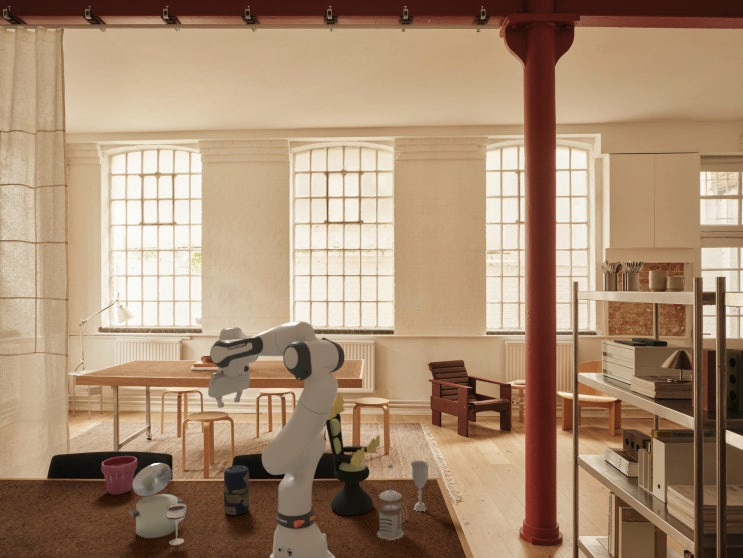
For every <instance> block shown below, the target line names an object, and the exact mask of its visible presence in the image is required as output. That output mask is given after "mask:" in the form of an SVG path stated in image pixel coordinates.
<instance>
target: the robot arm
mask: <svg viewBox="0 0 743 558" xmlns="http://www.w3.org/2000/svg"><path fill="white" fill-rule="evenodd" d="M314 329H315V328H313V326H312V325H311V324H310V323H308V322H306V321H300V320H299V321H289V322H286V323H282V324H279V325H276V326H274V327H272V328H269V329H267V330H265V331H261V332H260V333H257V334H255V335H252V336H250V337H249V336H247V335H246V334H245V333H244V332H243V331H242V329H241V327H238V326H237V327H236V326H235V327H227V328H223V329H221V330H220V333H219V337H218V340H216V341H215V342H214V343H213V345H212V346H211V349H210V352H209V356H210V360H211V361H212V363H213V364H214V365H215V366H216V367H217V371H216V372H213V374H212V375H211V376H210V380H209V382H208V392H207V395H208V397H209V398H213V399H215V401H216V402H217V408H220V409H222V408H224V407H225V403H224V402H223V397H224V396H228V395H231V394H234V393H236V394H235V395H236V396H235V397H233V398H234V403H237V404H238V403H240V402H241V397H242V395H243V391H245V390H247V389H249V387H250V384H251V380H250V379H251V375H250V371H251V366H250V365H247V364H252V363H255V362H256V361H257V360H258V359H259V357H282V360H283V365H284V367H285V368H286V370H287V371H288V372H289V373H290V374H291V375H293V376H294V378H295V379H296V380H297V381H304V386H303V389H302V391H301V394H300V396H299V398H298V401H297V402H296V405H295V407H294V409H293V412H292V414H291V415H290V418H289V419H288V421H287V422H286V423H285V424H284V426H283V427H282V429H281V430H280V431H279V433H278V434H277V435H276V436H275V437H274V439H272V441H271V442H269V444H268V445H266V446H265V447H264V448H263V451H262V453H261V463H262V466H263V468H264V470H266V472H267V473H268V474H270V475H273V476H278V475H284V477H283V479H282V480H281V481H280V483H279V485H278V488H277V494H278V495H277V502H278V503H277V505H278V506H277V510H276V522H277V525H276V528H275V530H274V533H273V545H272V553H271V554H270V555H269V558H336V556H335V555H334V554H333V553H331V551H330V550H329V548H328V542H327V534H326V533H323V532H322V531H321V530H320V527H319V526H318V524H317V523H316V520H317V518H316V517H317V515H315V511H314V508H313V507H312V501H313V500H312V497H313V496H312V494H313V493H312V492H313V491H312V490H313V481H314V477H315V474H316V470H317V467H318V464H319V462H320V460H321V458H322V457H323V455H324V453H325V451H326V449H327V447H326V446H327V444H326V440H325V437H324V435H323V433H321V432H322V431H323V429H324V428H325V426H326V421H327V418H328V416H329V414H330V412H331V409H332V407H333V405H334V403H335V400H336V398H337V395H338V390H339V383H338V382H339V381H338V379H337V378H336V377H335V376H334V375H333V374H331V373H335V372H337V371H338V370H339V371H340V369H341V368H342V367H343V365H344V362H345V360H346V359H345V358H346V356H345V352H344V351H345V350H344V349H343V347H342V346H341V345H340V344H339V343H337V342H335V341H333V340H330V339H328V338H326V337H321V338H318V337H317V336H316V332H315V330H314Z"/></svg>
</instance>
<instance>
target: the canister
mask: <svg viewBox="0 0 743 558" xmlns="http://www.w3.org/2000/svg"><path fill="white" fill-rule="evenodd" d="M223 487H224V488H223V502H224V503H223V507H224V508H223V510H224V512H225V514H227V515H231V516H238V515H243V514H245V513H247V512H248V511H249V507H250V493H249V492H250V471H249V468H248V466H245V465H241V464H240V465H232V466H229V467H226V468H225V469H224V471H223Z"/></svg>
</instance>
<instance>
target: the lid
mask: <svg viewBox="0 0 743 558" xmlns="http://www.w3.org/2000/svg"><path fill="white" fill-rule="evenodd" d="M170 467H171V466H169V465H168V464H166V463H162V462H157V463H152V464H150V465H148V466H147V465H146V467H144V468H142V469H141V470H139V472H138V473H136V475H134V478H133V483H132V489H133V491H134V493H135V494H136V495H138V496H141V497H149V496H153V495H156V494H158V493H159V492H161V491H162V490H164V489H165V488H166V487H167V486H168V485H169V483H170V482H171V480H172V477H173V471H172V469H171V468H170Z"/></svg>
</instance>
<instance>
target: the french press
mask: <svg viewBox="0 0 743 558" xmlns="http://www.w3.org/2000/svg"><path fill="white" fill-rule="evenodd" d="M393 467H394V466H393V464H392V463H389V464H387V468H388V469H393ZM378 497H379V499H380V500H382V501H386V502H387V503H382V504H381V505H380V509H379V511H378V512H379V515H378V516H379V521H378V522H379V524H378V525H379V530H378V531H377V532H376V536H377V535H378V536H377V537H378V538H379V537H380V538H379V539H381V538H383V539H388V540H387V541H391V540H393V541H396V540H395V539H398V540H400V539H399V538H401V537H402V536H403V535H404V536H405V533H404V531H403V530H402V523H404V522H406V520H407V519H408V518H407V517H408V511H407V507H406V505H405V504H404V502H402V501H400V500H401V498H402V494H401V493H400V492H398V491H395V490H394V489H393V490H392V488H391V486H389V490H384V491H382V492H381V493H379V495H378ZM396 501H400V502H398V503H393V502H396ZM401 504H402V505H403V506H404V508H403V507H402V505H401ZM404 511H406V513H405V512H404ZM391 513H392V514H391ZM402 513H403V514H402ZM405 514H406V515H405ZM402 516H403V518H402ZM404 536H403V537H404ZM403 537H402V538H403ZM402 538H401V539H402ZM383 539H382V540H383Z"/></svg>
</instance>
